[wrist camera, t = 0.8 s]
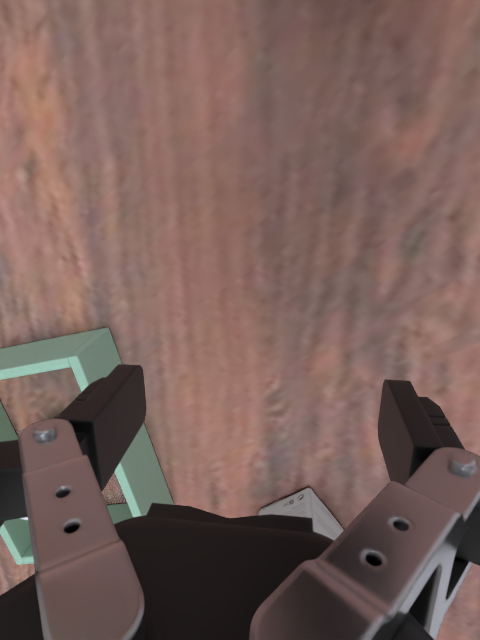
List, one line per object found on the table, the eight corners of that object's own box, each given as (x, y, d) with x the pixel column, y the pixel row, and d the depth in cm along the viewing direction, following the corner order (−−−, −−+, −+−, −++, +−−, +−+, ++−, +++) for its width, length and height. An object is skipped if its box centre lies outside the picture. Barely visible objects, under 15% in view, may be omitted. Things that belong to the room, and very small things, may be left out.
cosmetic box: (257, 508, 40) (236, 694, 26) (313, 482, 38) (322, 667, 24) (306, 567, 42) (311, 770, 28) (362, 545, 40) (396, 751, 26)
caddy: (-31, 354, 38) (-82, 385, 33) (108, 326, 35) (76, 355, 30) (49, 517, 44) (17, 565, 39) (174, 504, 41) (156, 553, 36)
